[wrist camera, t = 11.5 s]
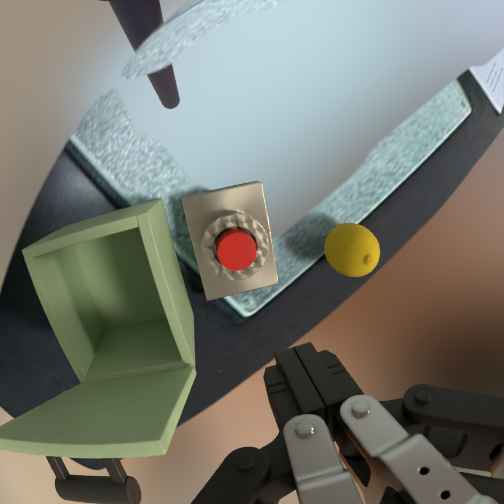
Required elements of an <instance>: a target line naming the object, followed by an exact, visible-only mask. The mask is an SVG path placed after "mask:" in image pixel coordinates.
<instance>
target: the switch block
mask: <svg viewBox="0 0 504 504" xmlns="http://www.w3.org/2000/svg"><path fill="white" fill-rule="evenodd" d="M182 204H183V208H184V212H185V217H186V221H187V225H188V229H189V234H190V238H191V242H192V246H193V250H194V254H195V258H196V262H197V265H198V269H199V273H200V277H201V281H202V284H203V288H204V292H205V295H206V299H207V301H209V300H213V299H217V298H221V297H226V296H230V295H234V294H238V293H242V292H246V291H250V290H254V289H258V288H262V287H266V286H270V285H274V284H278V283H279V278H278V272H277V266H276V260H275V254H274V249H273V243H272V237H271V231H270V226H269V220H268V214H267V209H266V203H265V197H264V192H263V187H262V182H259V181H254V182H249V183H244V184H239V185H234V186H229V187H225V188H220V189H215V190H211V191H206V192H202V193H198V194H193V195H189V196H185V197H183V198H182ZM231 229H239V230H243V231H245V232H246V233H247V234H249V236H250V237H251V238H252V239H253V241H254V242H255V245H256V249H257V253H256V258H255V260H254V262H253V263H252V264H251V265H250V266H249V267H247V268H246V269H244V270H240V271H233V270H229V269H227V268H225V267H224V266H223V265H222V264H221V263H220V261H219V259H218V255H217V251H216V244H217V241H218V239H219V237H220V236H221V235H222V234H223V233H224V232H226V231H228V230H231Z"/></svg>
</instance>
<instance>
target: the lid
mask: <svg viewBox="0 0 504 504" xmlns="http://www.w3.org/2000/svg"><path fill="white" fill-rule="evenodd" d="M195 376H196V370H195V367H194V366H191V367H186V368H181V369H176V370H171V371H165V372H159V373H154V374H148V375H142V376H135V377H129V378H122V379H115V380H107V381H99V382H90V383H81V384H78V385H76V386H75V387H73V388H71V389H69V390H67V391H65V392H64V393H62V394H60V395H58V396H56V397H54V398H53V399H51V400H49V401H47V402H45V403H43V404H41V405H40V406H38V407H36V408H34V409H32V410H30V411H28V412H26V413H25V414H23V415H21V416H19V417H17V418H15V419H13V420H11V421H9V422H7V423H6V424H3V425H1V426H0V449H1V450H7V451H13V452H19V453H27V454H35V455H44V456H46V458H47V460H48V462H49V464H50V466H51V468H52V470H53V472H54V474H55V475H56V479H55V488H56V491H57V493H58V494H59V496H60V497H61V498H63V499H64V500H69V501H76V502H85V503H97V504H139V503H140V501H141V490H140V487H139V484H138V482H137V481H136V479H135V478H133V477H131V476H127V475H126V472H125V470H124V468H123V466H122V464H121V462H120V460H119V458H127V457H144V456H156V455H164V454H166V451H167V449H168V446H169V444H170V441H171V438H172V436H173V433H174V431H175V428H176V425H177V423H178V420H179V418H180V415H181V412H182V410H183V407H184V405H185V402H186V399H187V397H188V394H189V392H190V389H191V387H192V384H193V381H194V379H195ZM61 457H71V458H102V461H103V463H104V465H105V467H106V469H107V471H108V472H109V475H110V476H83V475H70V474H69V472H68V471H67V468H66V467H65V465H64V463H63V461H62V458H61Z"/></svg>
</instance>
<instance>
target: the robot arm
mask: <svg viewBox="0 0 504 504" xmlns="http://www.w3.org/2000/svg"><path fill="white" fill-rule="evenodd" d="M275 360H276V365H274V366H270V367H266V369H265V373H264V377H263V378H264V382H265V386H266V391H267V395H268V399H269V403H270V406H271V409H272V411H273V414H274V417H275V420H276V423H277V426H278V429H279V434H278V436H277V437H276V438H275V439H274V441H272V442H271V443H269V444H268V445H266V446H264V447H262V448H261V449H258V448H255V447H242V448H239V449H236V450H234V451H232V452H231V453H230V454H229V455H228V456H227V457H226V458H225V459H224V461H223V462H222V464H221V465H220V466H219V468H218V469H217V470H216V472H215V473H214V474H213V476H212V477H211V478H210V480H209V481H208V482H207V483H206V485H205V486H204V487H203V489H202V490H201V491H200V492H199V494H198V495H197V496H196V498H195V499H194V500H193V501H192V503H191V504H278V502H279V500H280V499H281V498H283V497H284V496H286V495H288V494H289V493H291V492H292V491H294V490H296V492H297V495H298V499H299V503H300V504H363V502H362V499H361V497H360V494H359V492H358V489H357V487H356V485H355V482H354V480H355V481H356V483H357V484H358V485H359V487H360V488H361V490H362V492H363V494H364V499H365V502H366V504H504V397H500V396H492V395H485V394H478V393H472V392H466V391H460V390H453V389H448V388H443V387H437V386H432V385H426V384H420V385H415V386H413V387H411V388H409V389H408V390H407V391H406V393H405V394H404V398H400V399H395V400H390V401H378V400H377V399H375V398H374V397H372V396H369V395H365V394H364V393H363V392H362V390H361V389H360V388H359V387H358V385H357V384H356V382H355V381H354V380H353V378H352V377H351V376H350V374H349V373H348V371H346V369H345V367H344V366H343V365H342V364H341V362H340V361H339V359H338V358H337V356H336V355H335V354H333V353H331V352H329V351H327V350H323V351H320V352H317V351H316V349H315V348H314V346H313V345H312V343H311V342H308V343H305V344H302V345H299V346H295V347H293V348H289V349H285V350H282V351H278V352H275ZM334 441H336V443H337V445H338V447H339V455H338V452H337V450H336V447H335V445H334ZM339 456H340V457H339ZM340 458H341V460H342V461H343V463H344V464H345V466H346V467H347V469H345V468H344V467H343V464H342V462H341V460H340ZM453 466H455V467H461V468H467V469H474V470H480V471H488V472H490V473H491V477H486V476H480V475H475V474H469V473H464V472H458V471H457V470H456V469H455V468H454V467H453ZM353 478H354V480H353Z"/></svg>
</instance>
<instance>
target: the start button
mask: <svg viewBox="0 0 504 504" xmlns="http://www.w3.org/2000/svg"><path fill="white" fill-rule="evenodd" d="M216 251H217V255H218V259H219V261H220V263H221V264H222V265H223V266H224V267H225V268H227V269H229V270H233V271H240V270H244V269H246V268H247V267H249V266H250V265H251V264H252V263H253V262H254V260H255V258H256V253H257V249H256V245H255V242H254V241H253V239H252V238H251V237H250V236H249V234H247V233H246V232H245V231H243V230H239V229H231V230H228V231H226V232H224V233H223V234H222V235H221V236H220V237H219V239H218V241H217V244H216Z"/></svg>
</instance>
